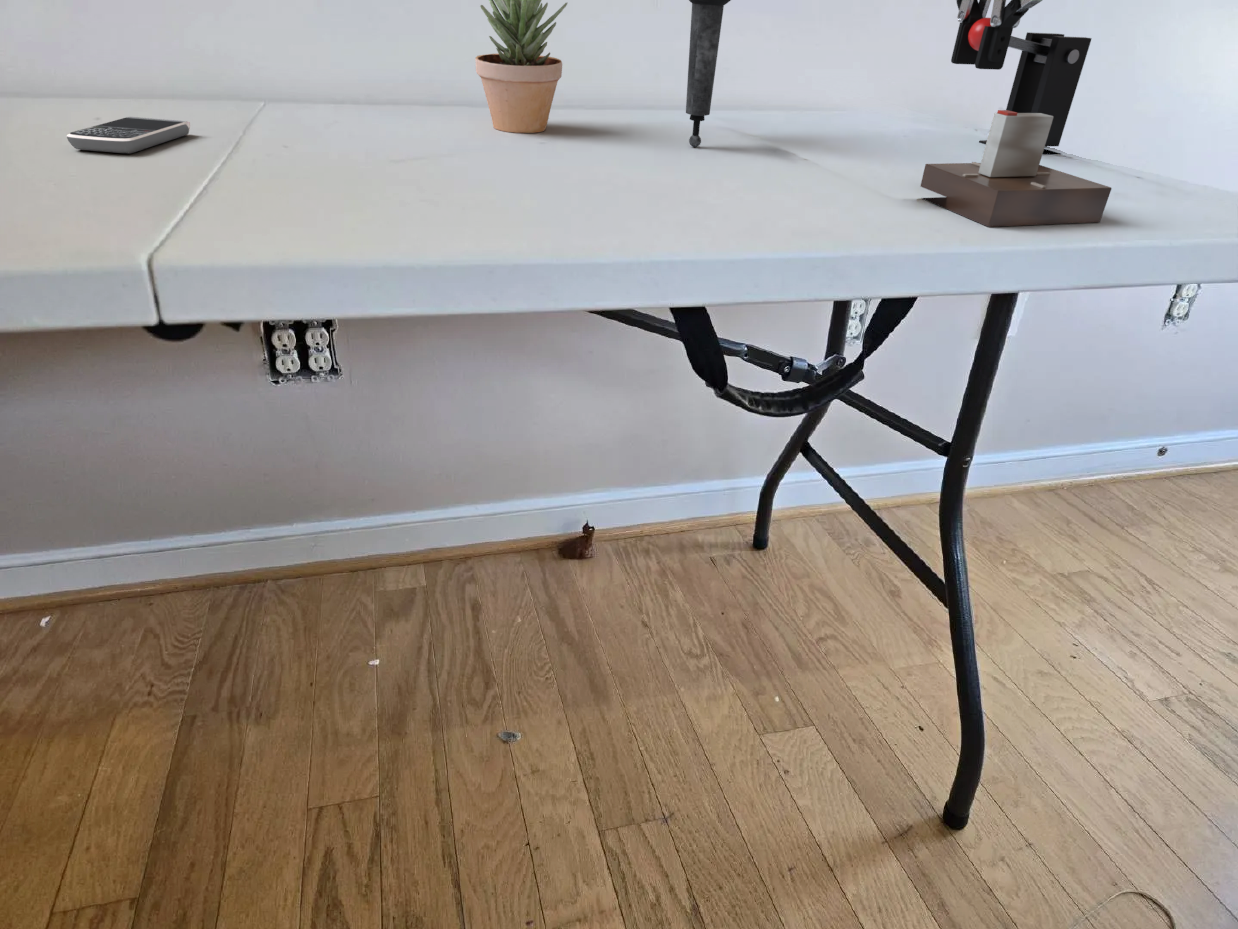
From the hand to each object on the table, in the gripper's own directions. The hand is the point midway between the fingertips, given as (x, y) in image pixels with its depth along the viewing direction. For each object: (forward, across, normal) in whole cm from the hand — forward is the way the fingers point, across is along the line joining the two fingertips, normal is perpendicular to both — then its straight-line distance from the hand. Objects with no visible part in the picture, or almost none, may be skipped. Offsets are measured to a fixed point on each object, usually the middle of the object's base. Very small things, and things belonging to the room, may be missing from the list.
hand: (976, 64), depth 92 cm
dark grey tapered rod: (+10, -7, -29) cm, 31 cm away
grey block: (+7, +21, -11) cm, 25 cm away
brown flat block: (+10, +21, -10) cm, 25 cm away
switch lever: (-1, 0, +5) cm, 5 cm away
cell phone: (+10, -11, -85) cm, 86 cm away
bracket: (+10, 0, +10) cm, 14 cm away
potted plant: (+10, -18, -46) cm, 50 cm away
